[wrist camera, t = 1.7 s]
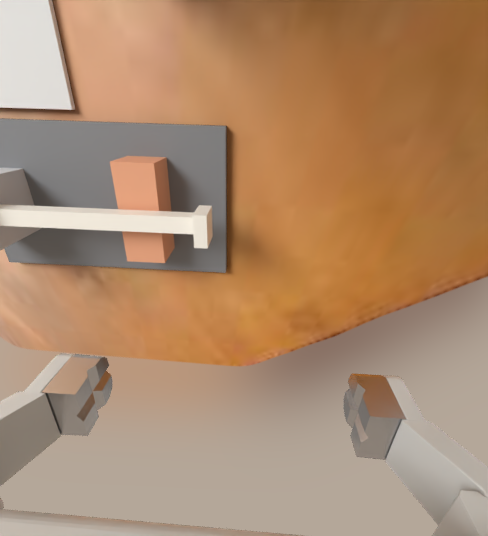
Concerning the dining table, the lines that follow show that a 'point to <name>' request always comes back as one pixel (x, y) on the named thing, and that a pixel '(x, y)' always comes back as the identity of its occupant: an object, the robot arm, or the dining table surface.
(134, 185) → the salmon orange rectangular block
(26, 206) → the bar
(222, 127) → the board
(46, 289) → the dining table surface
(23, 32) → the white mat
